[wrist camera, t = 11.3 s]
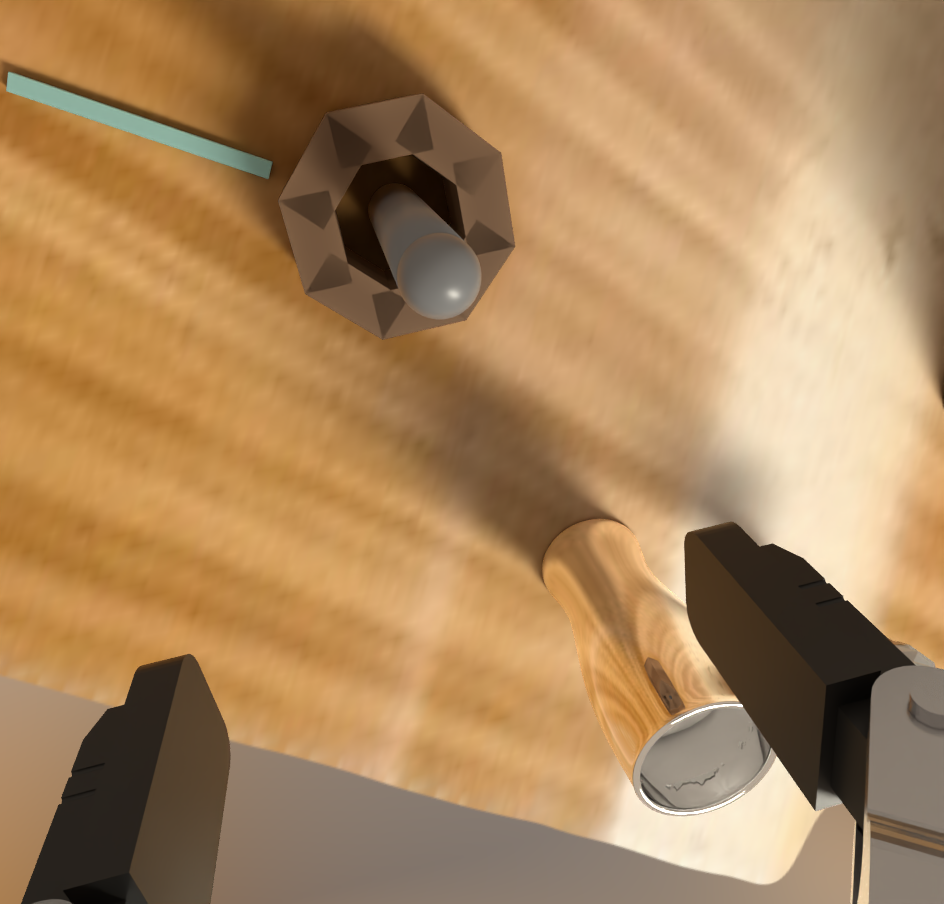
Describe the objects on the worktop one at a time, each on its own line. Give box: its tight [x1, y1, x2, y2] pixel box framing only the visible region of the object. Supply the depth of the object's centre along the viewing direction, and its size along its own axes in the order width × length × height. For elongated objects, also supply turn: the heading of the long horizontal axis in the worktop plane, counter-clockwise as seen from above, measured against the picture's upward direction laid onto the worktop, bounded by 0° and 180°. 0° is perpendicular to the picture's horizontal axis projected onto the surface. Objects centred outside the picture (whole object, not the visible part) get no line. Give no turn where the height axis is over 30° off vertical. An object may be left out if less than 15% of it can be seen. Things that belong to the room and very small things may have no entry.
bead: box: [278, 94, 515, 340], centre depth 31 cm, size 9×9×4 cm
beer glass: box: [542, 519, 777, 816], centre depth 37 cm, size 7×7×15 cm
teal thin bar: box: [6, 72, 273, 179], centre depth 30 cm, size 10×1×1 cm, turn 71°
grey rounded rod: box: [369, 183, 481, 319], centre depth 26 cm, size 2×2×15 cm
